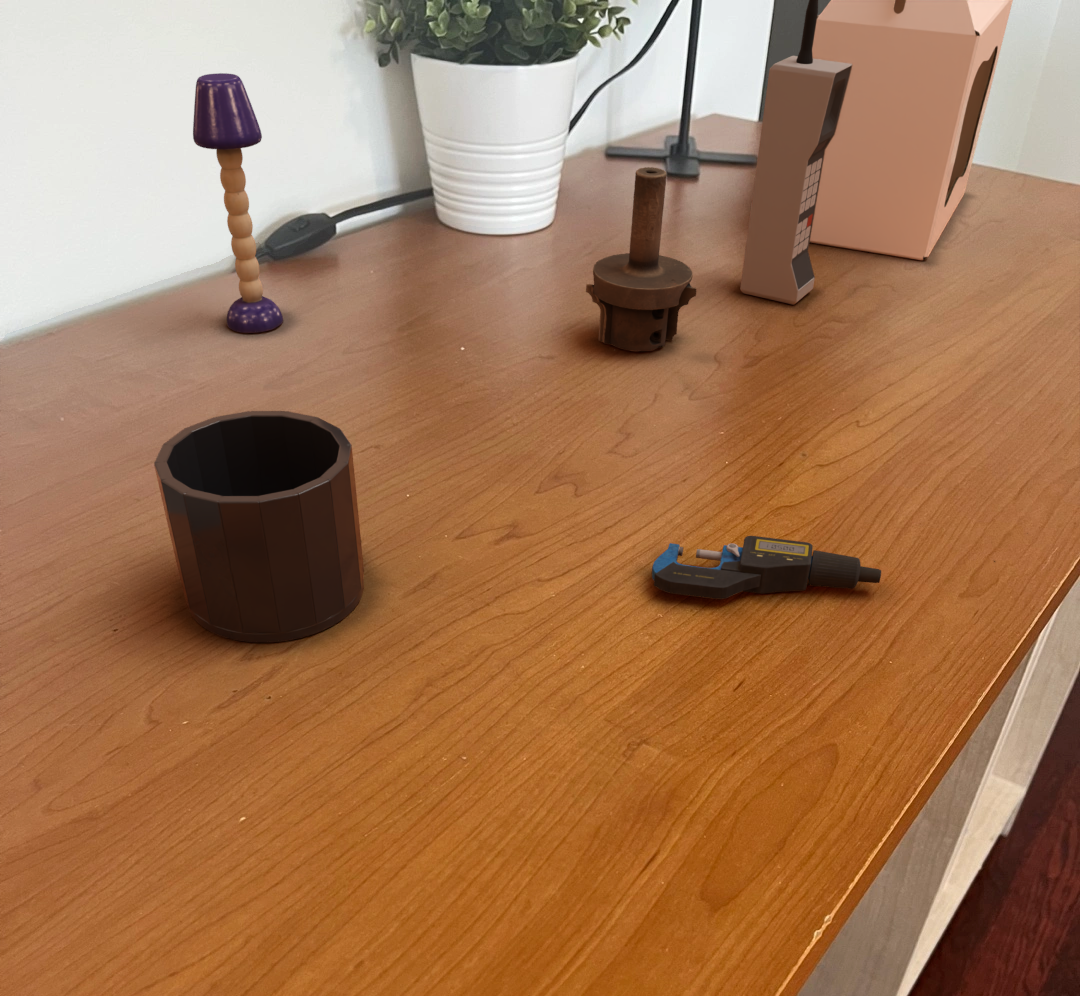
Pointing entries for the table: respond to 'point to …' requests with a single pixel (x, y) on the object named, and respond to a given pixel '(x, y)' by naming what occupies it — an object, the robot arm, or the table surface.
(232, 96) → the toy lamp
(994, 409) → the table surface
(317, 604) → the holder
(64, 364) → the table surface
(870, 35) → the gable box
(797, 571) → the micrometer
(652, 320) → the industrial component
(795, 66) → the vintage mobile phone
